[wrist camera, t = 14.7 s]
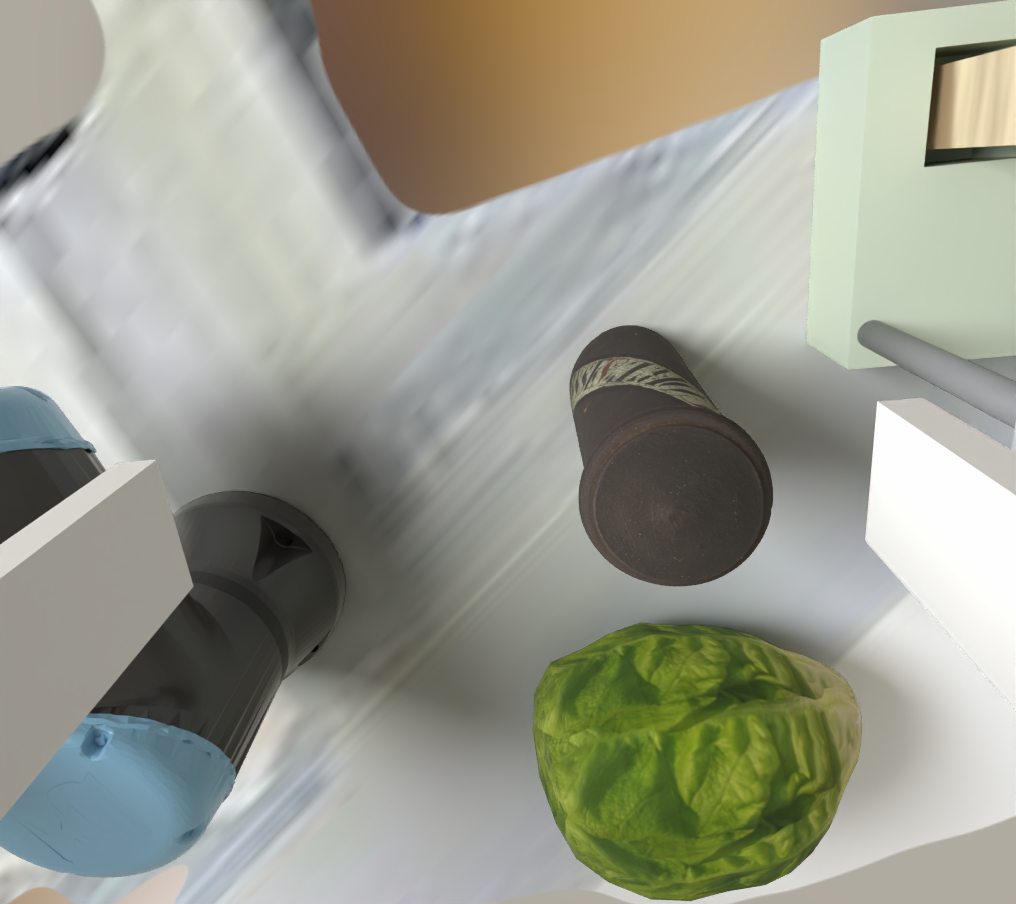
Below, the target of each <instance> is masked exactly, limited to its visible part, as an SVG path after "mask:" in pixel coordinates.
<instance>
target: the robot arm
mask: <svg viewBox="0 0 1016 904" xmlns="http://www.w3.org/2000/svg"><path fill="white" fill-rule="evenodd" d="M95 453H96V449H95V448H94V446H93V445H92V444H91V443H90V442H88V441H85V440H84V439H83V438H82V437H81V436H80V434H79V433H78V432H77V430H76V429H75V428H74V426H73V425H72V424H71V422H70V421H69V420H68V419H67V417H66V416H65V415H64V413H63V412H62V411H61V409H60V408H59V407H58V405H57V404H56V403H55V402H54V401H53V400H52V399H51V398H50V397H49V396H47V395H46V394H44V393H43V392H41V391H38V390H36V389H32V388H28V387H21V386H10V387H0V846H1V847H3V848H4V849H5V850H7V851H9V852H10V853H12V854H14V855H16V856H18V857H20V858H22V859H24V860H26V861H28V862H31V863H33V864H36V865H38V866H41V867H44V868H47V869H51V870H54V871H57V872H62V873H73V874H77V875H81V876H86V877H122V876H130V875H136V874H140V873H144V872H148V871H151V870H154V869H157V868H159V867H162V866H164V865H166V864H168V863H170V862H172V861H174V860H175V859H177V858H178V857H180V856H181V855H183V854H184V853H185V852H187V851H188V850H189V849H190V848H191V847H192V846H193V845H194V844H195V843H196V842H197V841H198V840H199V839H200V837H201V836H202V835H203V833H204V832H205V830H206V828H207V826H208V825H209V823H210V821H211V820H212V818H213V816H214V815H215V813H216V811H217V810H218V808H219V807H220V805H221V803H222V802H224V801H225V799H226V798H227V797H228V796H229V794H230V792H231V791H232V788H233V785H234V783H235V779H236V776H237V774H238V772H239V770H240V768H241V766H242V764H243V762H244V760H245V758H246V755H247V753H248V751H249V749H250V747H251V745H252V743H253V741H254V739H255V737H256V734H257V732H258V730H259V728H260V726H261V724H262V722H263V720H264V718H265V716H266V713H267V711H268V709H269V707H270V705H271V703H272V701H273V699H274V697H275V695H276V693H277V691H278V689H279V687H280V685H281V683H282V681H283V680H284V679H285V678H287V677H288V676H289V675H290V674H291V673H293V672H294V671H295V670H296V668H297V667H298V666H300V665H302V664H303V663H305V662H306V661H307V660H309V659H310V658H311V657H312V656H314V655H315V654H316V653H317V652H318V651H319V650H320V649H321V648H322V646H323V645H324V644H325V642H326V641H327V640H328V638H329V637H330V635H331V633H332V631H333V629H334V627H335V625H336V623H337V620H338V618H339V616H340V613H341V611H342V608H343V604H344V599H345V577H344V572H343V568H342V564H341V561H340V559H339V556H338V554H337V552H336V550H335V548H334V547H333V545H332V543H331V542H330V540H329V539H328V538H327V536H326V535H325V534H324V533H323V531H322V530H321V529H320V528H319V527H318V526H317V525H316V524H315V523H314V522H313V521H312V520H310V519H309V518H308V517H307V516H306V515H304V514H303V513H301V512H300V511H298V510H297V509H295V508H293V507H292V506H290V505H288V504H286V503H284V502H282V501H279V500H277V499H274V498H271V497H268V496H265V495H261V494H256V493H250V492H237V491H232V492H220V493H214V494H210V495H206V496H203V497H201V498H198V499H196V500H194V501H192V502H190V503H188V504H186V505H185V506H183V507H182V508H181V509H179V510H178V511H177V512H176V513H175V514H174V515H173V514H172V511H171V508H170V504H169V501H168V497H167V494H166V491H165V487H164V484H163V480H162V477H161V474H160V470H159V467H158V463H157V460H146V461H133V462H121V463H116V464H115V465H113V466H112V467H111V468H109V469H108V470H105V468H104V467H103V465H102V464H101V462H100V461H99V460H98V458H97V457H96V455H95ZM865 541H866V542H867V544H868V545H869V546H870V547H871V548H872V549H873V550H874V551H875V553H876V554H877V555H878V556H879V557H880V558H881V559H882V561H883V562H884V563H885V564H886V565H887V566H888V567H889V568H890V570H891V571H892V572H893V573H894V574H895V575H896V576H897V577H898V579H899V580H900V581H901V582H902V583H903V584H904V585H905V587H906V588H907V589H908V590H909V591H910V592H911V593H912V594H913V596H914V597H915V598H916V599H917V600H918V601H919V602H920V604H921V605H922V606H923V607H924V608H925V609H926V610H927V611H928V613H929V614H930V615H931V616H932V617H933V618H934V619H935V621H936V622H937V623H938V624H939V625H940V626H941V627H942V628H943V630H944V631H945V632H946V633H947V634H948V635H949V636H950V638H951V639H952V640H953V641H954V642H955V643H956V644H957V645H958V647H959V648H960V649H961V650H962V651H963V652H964V653H965V655H966V656H967V657H968V658H969V659H970V660H971V661H972V662H973V664H974V665H975V666H976V667H977V668H978V669H979V670H980V672H981V673H982V674H983V675H984V676H985V677H986V678H987V679H988V681H989V682H990V683H991V684H992V685H993V686H994V687H995V689H996V690H997V691H998V692H999V693H1000V694H1001V695H1002V696H1003V698H1004V699H1005V700H1006V701H1007V702H1008V703H1009V704H1010V705H1011V707H1012V708H1013V709H1014V710H1015V711H1016V453H1015V452H1014V451H1012V450H1010V449H1009V448H1007V447H1005V446H1003V445H1002V444H1000V443H998V442H997V441H995V440H993V439H992V438H990V437H988V436H987V435H985V434H983V433H982V432H980V431H978V430H976V429H975V428H973V427H971V426H970V425H968V424H966V423H965V422H963V421H961V420H960V419H958V418H956V417H954V416H953V415H951V414H949V413H948V412H946V411H944V410H943V409H941V408H939V407H938V406H936V405H934V404H933V403H931V402H929V401H927V400H926V399H924V398H912V399H899V400H887V401H877V410H876V422H875V433H874V445H873V457H872V468H871V480H870V491H869V503H868V514H867V526H866V537H865Z"/></svg>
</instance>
